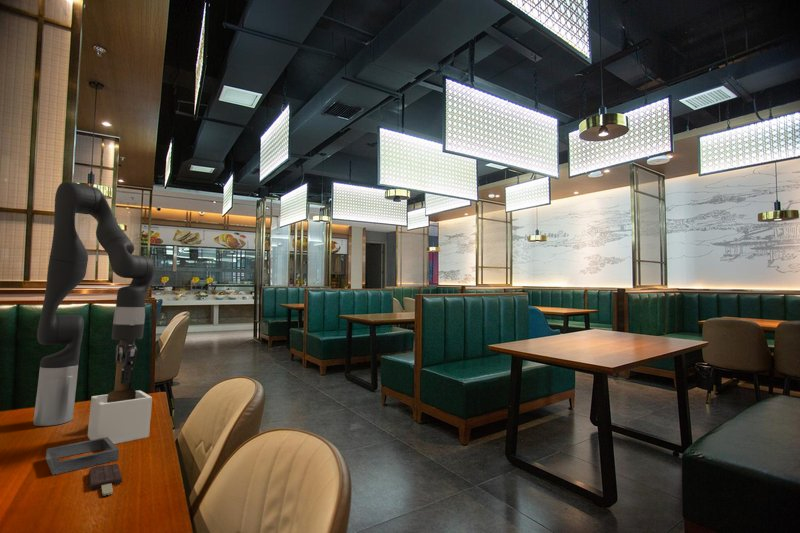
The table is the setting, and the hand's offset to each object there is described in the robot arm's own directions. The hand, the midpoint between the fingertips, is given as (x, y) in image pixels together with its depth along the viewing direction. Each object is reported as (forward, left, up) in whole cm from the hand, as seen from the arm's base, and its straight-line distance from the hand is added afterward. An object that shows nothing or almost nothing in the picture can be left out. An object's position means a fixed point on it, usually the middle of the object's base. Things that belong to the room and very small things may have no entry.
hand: (123, 382), depth 111 cm
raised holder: (0, 0, -15) cm, 15 cm away
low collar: (+13, -10, -15) cm, 22 cm away
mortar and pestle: (0, 0, -5) cm, 5 cm away
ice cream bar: (+31, -9, -16) cm, 36 cm away
